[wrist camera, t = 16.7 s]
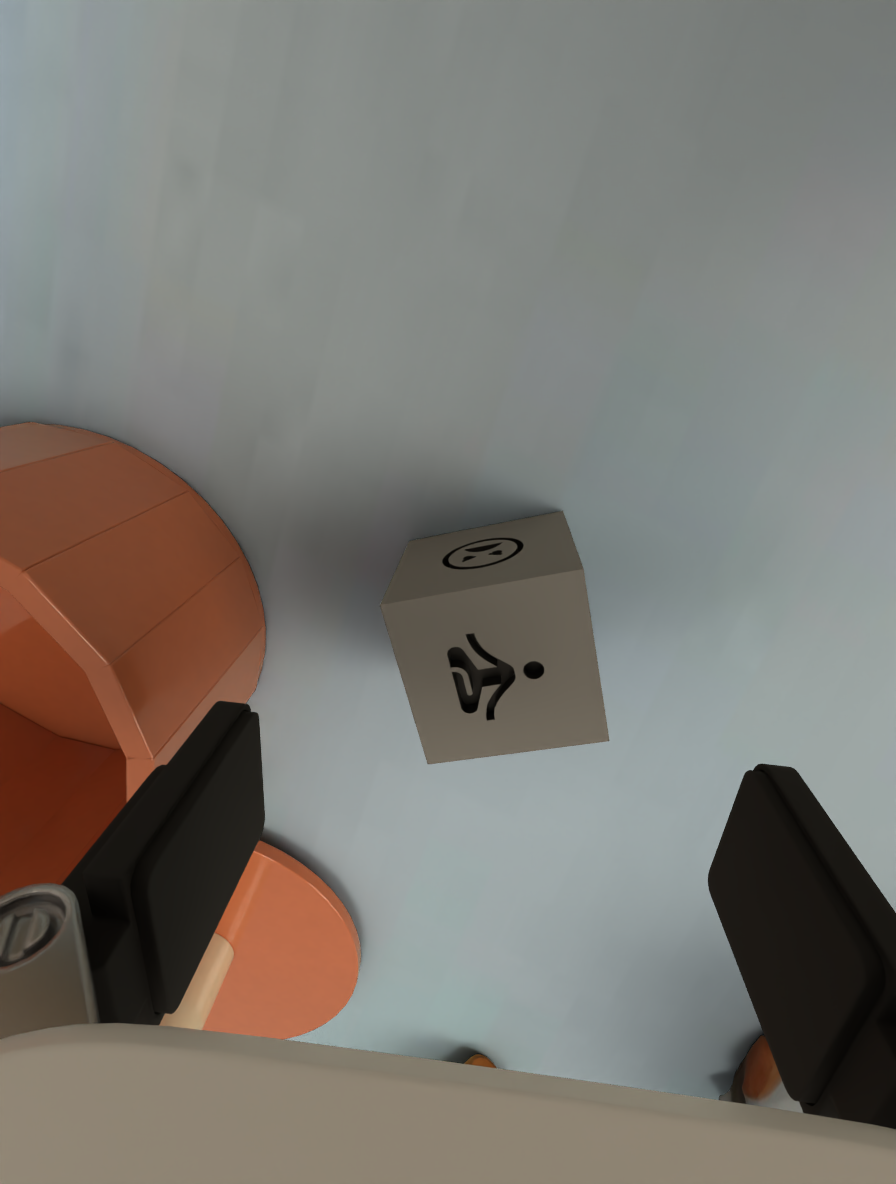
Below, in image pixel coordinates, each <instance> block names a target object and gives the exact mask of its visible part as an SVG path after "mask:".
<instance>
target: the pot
mask: <svg viewBox="0 0 896 1184" xmlns="http://www.w3.org/2000/svg"><path fill="white" fill-rule="evenodd" d="M265 640H266V628H265V619H264V610H263V605H262V601H261V597H260V593H259V589H258V586H257V583H256V581H255V578H254V576H253V573H252V571H251V568H250V565H249V563H248V561H247V559H246V558H245V556H244V554H243V552H242V550H241V548H240V546H239V545H238V543H237V541H236V540H235V538H234V537H233V535H232V534H231V532H230V531H229V530H228V528H227V527H226V525H225V524H224V522H223V521H222V520H221V518H220V517H219V516H218V515H217V514H216V513H215V512H214V510H213V509H212V508H211V507H210V506H209V505H208V504H207V502H206V501H205V500H204V499H203V498H202V497H201V496H200V495H199V494H198V493H196V492H195V491H194V490H193V489H192V488H191V487H190V486H189V485H188V484H187V483H186V482H185V481H183V480H182V479H181V478H180V477H178V476H177V475H175V474H174V473H173V472H171V471H170V470H169V469H167V468H166V467H165V466H163V465H162V464H161V463H159V462H157V461H156V460H154V459H152V458H150V457H149V456H147V455H145V454H144V453H142V452H140V451H138V450H137V449H135V448H133V447H130V446H128V445H126V444H124V443H121V442H119V441H117V440H114V439H112V438H110V437H107V436H104V435H100V434H97V433H94V432H91V431H88V430H84V429H79V428H74V427H68V426H62V425H56V424H39V423H35V422H25V423H20V424H14V425H8V426H3V427H0V896H2V895H4V894H6V893H8V892H10V891H12V890H15V889H17V888H21V887H25V886H28V885H32V884H39V883H54V884H59V885H61V884H62V883H63V881H64V880H65V879H66V878H67V876H68V875H69V874H70V873H71V871H72V870H73V869H74V868H75V866H76V865H77V864H78V863H79V862H80V860H81V859H82V858H83V857H84V855H85V854H86V853H87V852H88V850H89V849H90V848H91V847H92V845H93V844H94V843H95V842H96V840H97V839H98V838H99V837H100V835H101V834H102V833H103V832H104V831H105V829H106V828H107V827H108V826H109V824H110V823H111V822H112V821H113V819H114V818H115V817H116V816H117V814H118V813H119V812H120V811H121V809H122V808H123V807H124V806H125V804H126V803H127V802H128V801H129V799H130V798H131V797H132V796H133V795H134V793H135V792H136V791H137V790H138V788H139V787H140V786H141V785H142V783H143V782H144V781H145V780H146V778H147V777H148V776H149V775H150V773H151V772H152V771H153V770H154V769H155V768H156V767H158V766H160V765H167V764H168V762H169V761H170V760H171V759H172V757H173V756H174V755H175V753H176V752H177V751H178V750H179V748H180V747H181V746H182V745H183V743H184V742H185V741H186V739H187V738H188V737H189V736H190V734H191V733H192V732H193V731H194V729H195V728H196V727H197V725H198V724H199V723H200V722H201V720H202V719H203V718H204V716H205V715H206V714H207V713H208V711H209V710H210V709H211V708H212V706H213V705H214V704H215V703H216V702H217V701H227V702H236V703H244V704H246V703H247V702H248V700H249V699H250V697H251V696H252V694H253V693H254V691H255V690H256V687H257V682H258V679H259V676H260V673H261V670H262V665H263V660H264V655H265Z"/></svg>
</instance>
